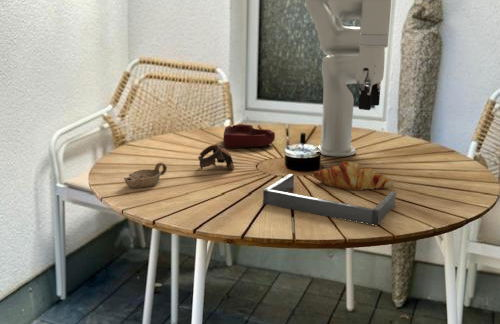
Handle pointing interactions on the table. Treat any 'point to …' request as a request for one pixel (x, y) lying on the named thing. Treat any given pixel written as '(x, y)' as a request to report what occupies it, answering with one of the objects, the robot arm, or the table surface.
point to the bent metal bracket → (324, 203)
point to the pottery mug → (215, 156)
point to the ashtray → (247, 136)
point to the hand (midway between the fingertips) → (369, 106)
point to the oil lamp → (145, 177)
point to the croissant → (352, 177)
